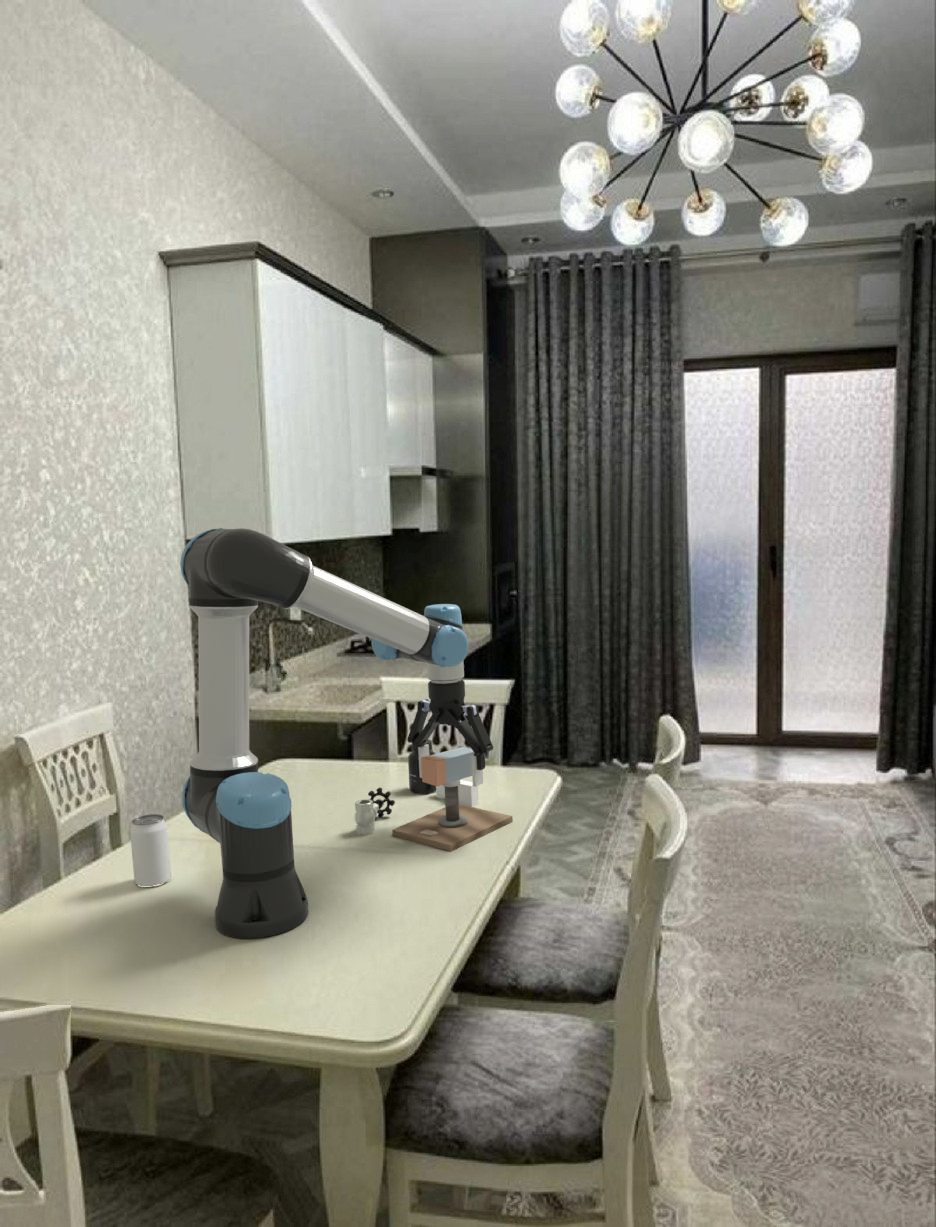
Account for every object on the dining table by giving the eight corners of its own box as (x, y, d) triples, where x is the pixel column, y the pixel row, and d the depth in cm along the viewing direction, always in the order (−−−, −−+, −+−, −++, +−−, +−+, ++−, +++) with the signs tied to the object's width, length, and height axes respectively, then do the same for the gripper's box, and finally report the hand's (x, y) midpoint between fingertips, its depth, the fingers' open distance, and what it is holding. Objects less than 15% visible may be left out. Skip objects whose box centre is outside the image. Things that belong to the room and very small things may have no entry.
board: (451, 851, 178) (448, 805, 177) (392, 835, 188) (389, 792, 187) (512, 821, 193) (510, 779, 192) (455, 808, 203) (453, 768, 202)
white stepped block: (489, 809, 203) (488, 784, 203) (439, 814, 201) (438, 789, 200) (474, 789, 218) (473, 766, 217) (427, 794, 215) (426, 771, 215)
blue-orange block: (478, 780, 191) (477, 750, 190) (437, 793, 184) (436, 761, 183) (463, 776, 195) (462, 746, 194) (422, 788, 188) (421, 757, 187)
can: (178, 875, 172) (173, 814, 170) (158, 890, 166) (152, 826, 164) (148, 873, 173) (143, 812, 172) (127, 887, 167) (121, 824, 166)
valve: (377, 836, 188) (395, 817, 200) (375, 805, 187) (394, 787, 199) (347, 835, 190) (367, 815, 201) (345, 804, 189) (365, 786, 201)
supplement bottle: (405, 794, 215) (402, 744, 214) (415, 785, 222) (412, 737, 220) (432, 795, 213) (430, 745, 212) (442, 786, 220) (439, 738, 218)
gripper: (507, 680, 183) (511, 783, 185) (409, 672, 197) (414, 768, 199) (486, 687, 177) (491, 793, 179) (387, 678, 191) (393, 777, 193)
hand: (451, 780), depth 189 cm, fingers open, 13 cm apart
